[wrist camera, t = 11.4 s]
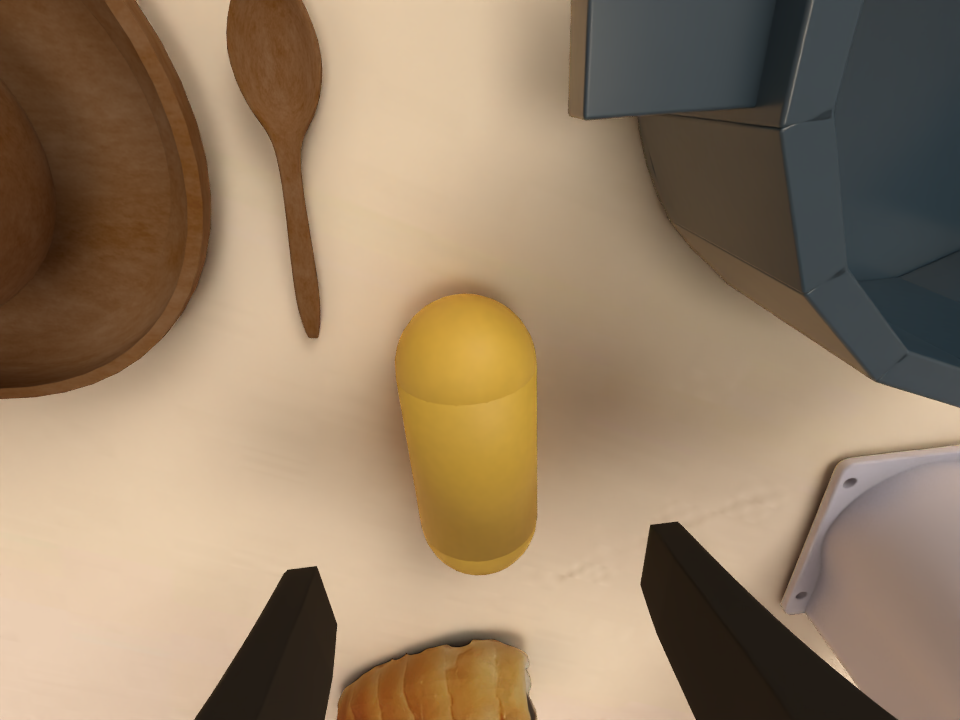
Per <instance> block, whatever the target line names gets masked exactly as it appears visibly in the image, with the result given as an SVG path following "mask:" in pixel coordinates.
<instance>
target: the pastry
mask: <svg viewBox="0 0 960 720" xmlns="http://www.w3.org/2000/svg"><path fill="white" fill-rule="evenodd" d="M528 667H529V660H528V656H527V654H526V653H524V652H523V651H521V650H519V649H518V648H515V647H512V646H510V645H505V644H503V643H501V642H499V641H497V640H495V639H492V640H491V639H488V640H472V641H471V643H470V644H469V645H466V646H463V647H450V646H449V645H448V644H447V645H442V646H438V647H434V648H428V649H425V650H424V651H423V652H421V653H419V654H414V655H407V653H406V655H405V656H404V657H402V658H400V659H398V660H393V658H392V659H391V661H390V662H387V663H384V664H381V665H378V666H376V667H374V668H373V669H372V670H370V671H368V672H367V673H365V674H363V675H362V676H361V677H360V678H359V679H358V680H356V681H355V682H354V683H352V684H351V685H349V686H347V687H346V688H345V689H344V691H343V693H342V695H341V697H340V699H339V701H338V715H337V720H537V714H536V709H535V707H534V705H533V703H532V701H531V699H530V697H529V690H530V688H531V680H530V676H529V675H528V672H527V671H526V669H527V668H528Z"/></svg>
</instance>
